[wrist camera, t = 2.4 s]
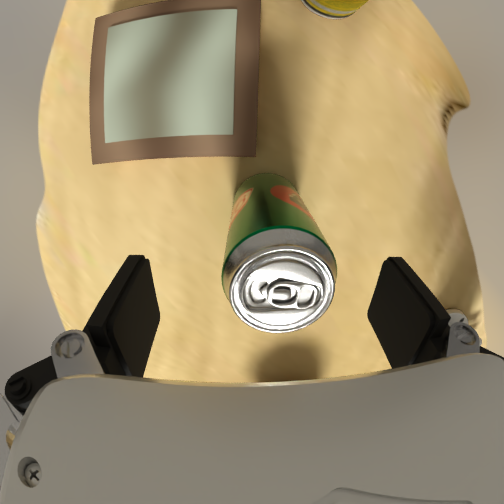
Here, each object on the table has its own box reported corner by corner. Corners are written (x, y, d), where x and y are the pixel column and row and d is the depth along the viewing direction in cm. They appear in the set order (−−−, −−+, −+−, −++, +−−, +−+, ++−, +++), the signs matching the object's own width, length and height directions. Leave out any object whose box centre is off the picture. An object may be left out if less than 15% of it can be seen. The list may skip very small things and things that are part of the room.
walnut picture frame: (259, 7, 14) (261, -8, 11) (254, 152, 20) (256, 157, 17) (110, 25, 14) (93, 16, 11) (108, 158, 19) (90, 165, 17)
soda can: (236, 168, 20) (220, 232, 10) (302, 175, 20) (358, 243, 10) (231, 230, 23) (218, 336, 12) (293, 234, 23) (327, 340, 12)
